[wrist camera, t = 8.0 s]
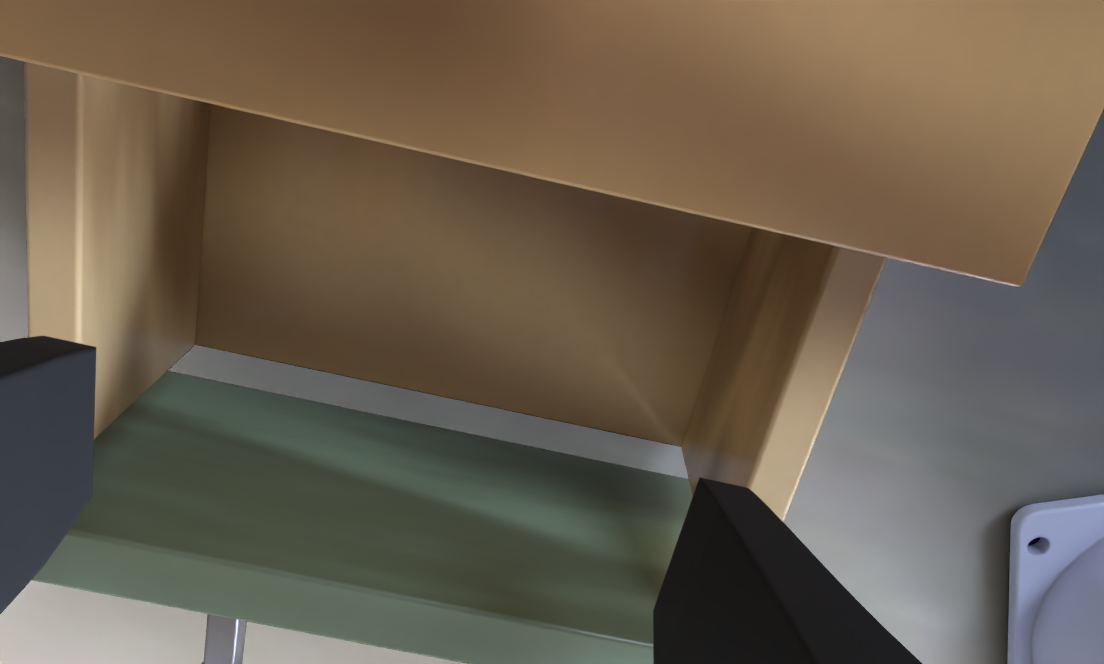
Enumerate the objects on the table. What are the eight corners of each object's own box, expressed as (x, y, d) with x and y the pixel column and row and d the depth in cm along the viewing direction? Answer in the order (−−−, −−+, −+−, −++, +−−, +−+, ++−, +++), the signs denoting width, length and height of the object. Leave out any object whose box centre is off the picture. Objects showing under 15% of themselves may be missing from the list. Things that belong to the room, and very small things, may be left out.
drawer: (660, 655, 22) (689, 875, 16) (138, 554, 21) (-13, 749, 16) (900, -28, 16) (1073, -37, 10) (171, -210, 15) (-62, -324, 9)
